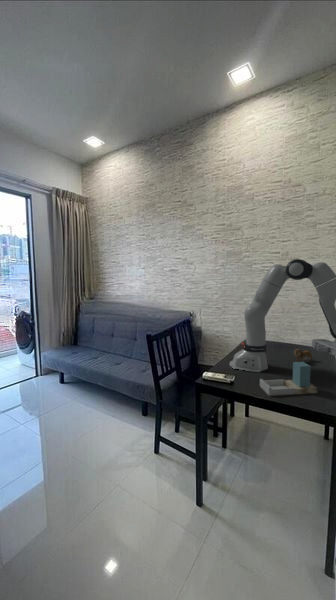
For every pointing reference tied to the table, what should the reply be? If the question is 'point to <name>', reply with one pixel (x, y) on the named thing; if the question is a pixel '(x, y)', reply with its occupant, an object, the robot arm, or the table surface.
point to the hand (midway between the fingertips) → (315, 348)
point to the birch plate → (300, 389)
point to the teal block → (301, 374)
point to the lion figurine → (302, 355)
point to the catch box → (276, 387)
